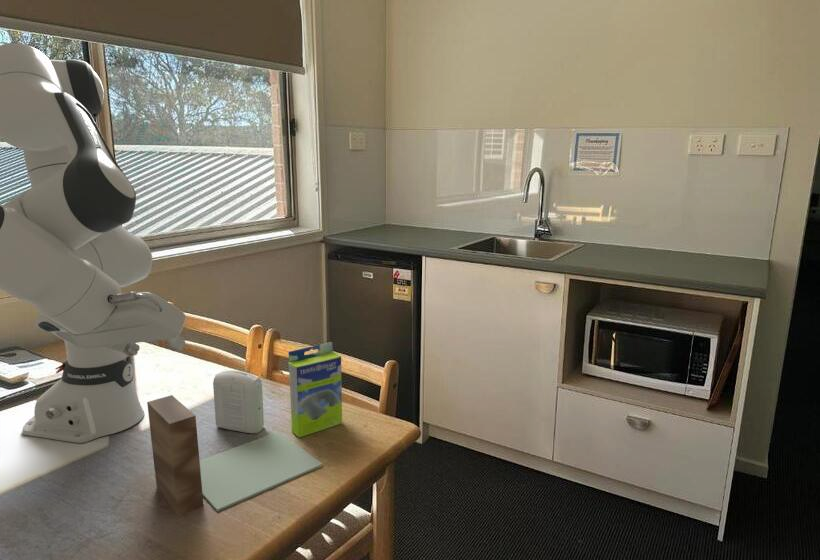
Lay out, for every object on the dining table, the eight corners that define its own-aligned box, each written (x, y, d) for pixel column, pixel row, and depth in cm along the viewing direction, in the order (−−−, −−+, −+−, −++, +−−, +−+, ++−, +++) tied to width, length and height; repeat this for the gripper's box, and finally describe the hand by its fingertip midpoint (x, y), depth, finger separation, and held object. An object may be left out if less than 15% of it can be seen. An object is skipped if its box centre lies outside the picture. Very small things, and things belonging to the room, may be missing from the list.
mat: (217, 511, 90) (217, 509, 90) (179, 469, 102) (179, 467, 102) (322, 465, 103) (322, 463, 103) (278, 433, 115) (278, 431, 115)
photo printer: (267, 426, 118) (264, 371, 115) (256, 436, 114) (252, 379, 111) (225, 419, 121) (221, 365, 118) (212, 428, 117) (208, 372, 114)
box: (299, 439, 113) (295, 357, 109) (289, 430, 116) (286, 351, 112) (344, 423, 119) (342, 346, 115) (334, 416, 122) (332, 341, 118)
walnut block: (178, 516, 89) (169, 423, 85) (156, 488, 96) (147, 402, 93) (203, 505, 92) (195, 415, 88) (180, 479, 99) (171, 395, 95)
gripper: (150, 272, 75) (216, 325, 85) (47, 291, 83) (119, 337, 93) (131, 311, 72) (202, 362, 82) (26, 327, 79) (102, 372, 90)
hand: (157, 349), depth 87 cm, fingers open, 8 cm apart
